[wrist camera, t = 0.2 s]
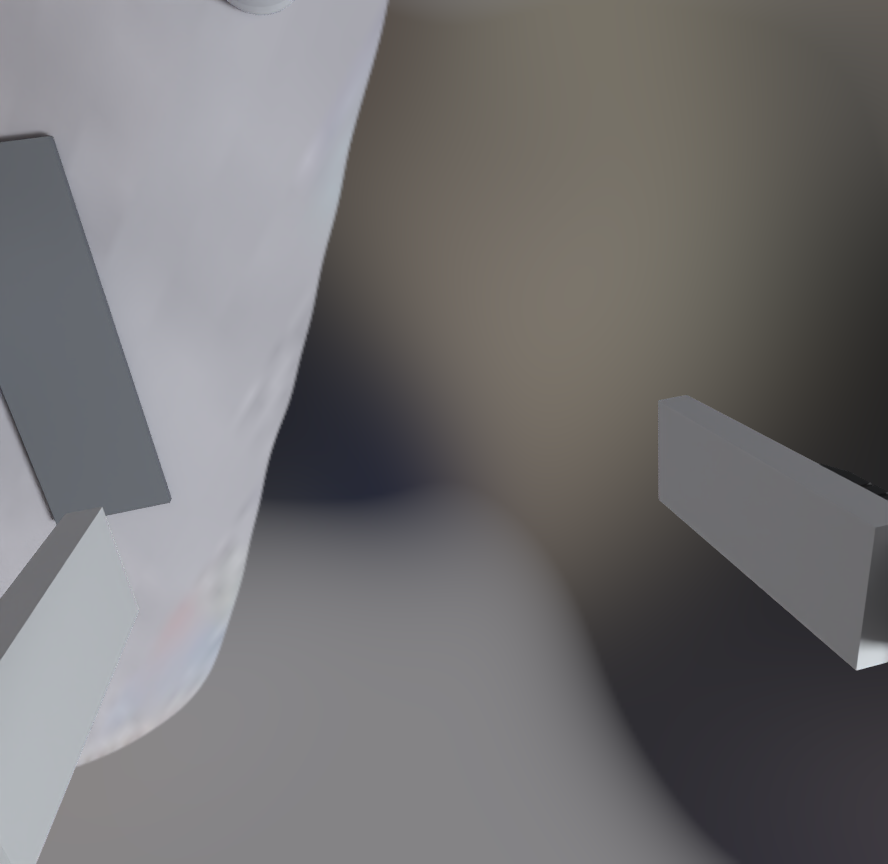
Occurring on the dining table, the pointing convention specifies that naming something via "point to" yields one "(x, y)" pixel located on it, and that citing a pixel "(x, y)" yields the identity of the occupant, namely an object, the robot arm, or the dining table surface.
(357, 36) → the dining table surface
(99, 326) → the mat
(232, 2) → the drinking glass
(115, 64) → the dining table surface
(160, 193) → the dining table surface
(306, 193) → the dining table surface
